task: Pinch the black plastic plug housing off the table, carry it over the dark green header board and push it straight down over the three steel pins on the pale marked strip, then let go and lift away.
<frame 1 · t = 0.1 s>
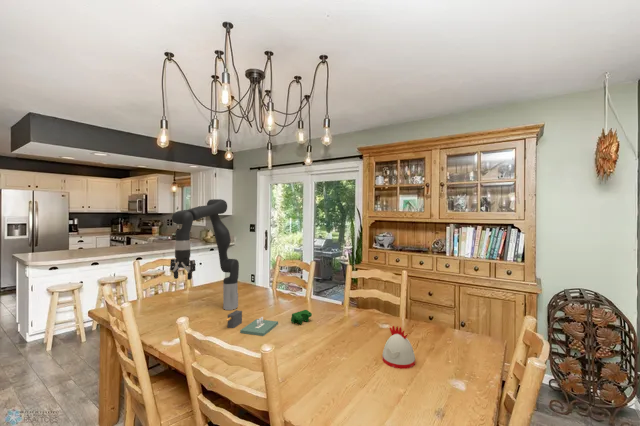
hand: (182, 279, 165), 29 cm above the table, tool pointing down, fingers open, 8 cm apart
header board: (259, 328, 173), on the table
kitchen timer: (398, 361, 136), on the table
plug housing: (234, 325, 177), on the table
green toy animal: (301, 322, 182), on the table
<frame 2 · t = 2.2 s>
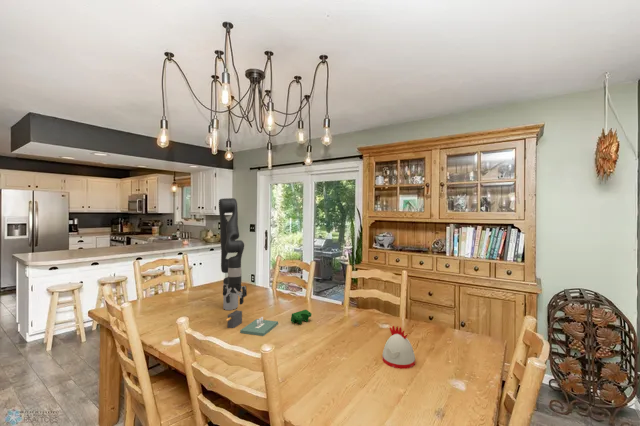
hand: (234, 303, 177), 13 cm above the table, tool pointing down, fingers open, 8 cm apart
nothing on the table moved.
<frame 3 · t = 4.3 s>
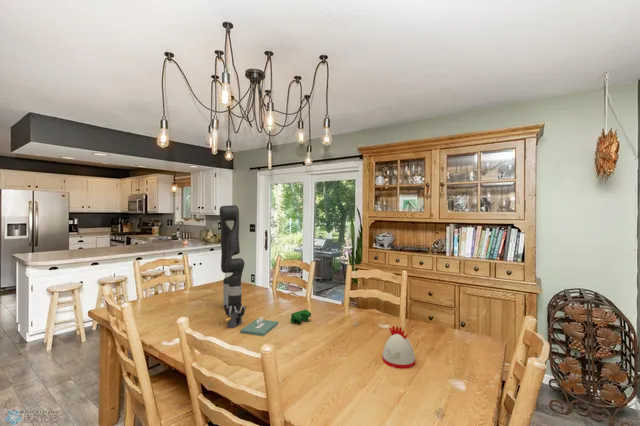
hand: (234, 323, 177), 1 cm above the table, tool pointing down, fingers closed on plug housing, 3 cm apart
plug housing: (234, 325, 177), on the table, touching gripper
everything else where it was.
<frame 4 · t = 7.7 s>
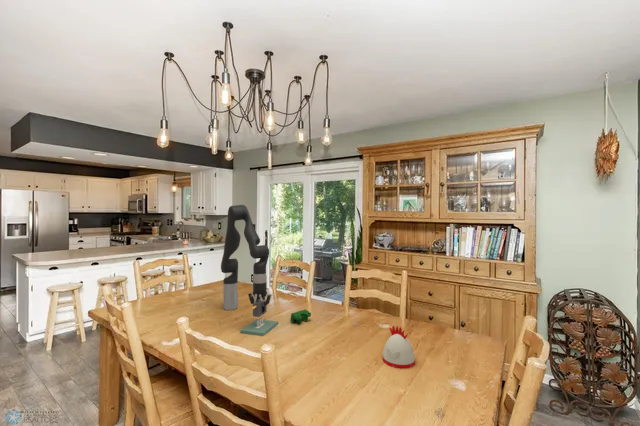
hand: (259, 311, 173), 9 cm above the table, tool pointing down, fingers closed on plug housing, 3 cm apart
plug housing: (259, 314, 172), point 8 cm above the table, touching gripper
everything else where it was.
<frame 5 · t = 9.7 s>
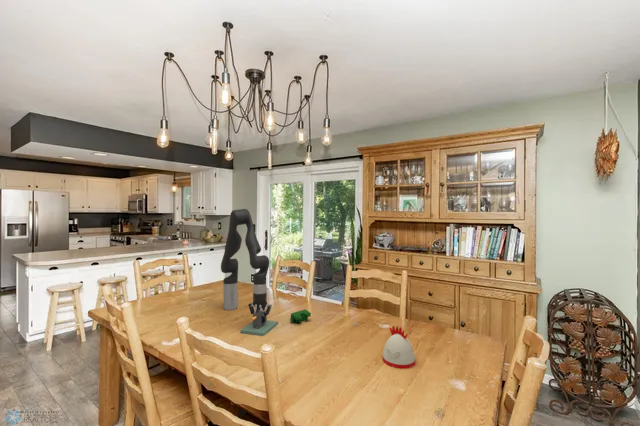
hand: (259, 322, 173), 4 cm above the table, tool pointing down, fingers closed on plug housing, 3 cm apart
plug housing: (259, 324, 173), point 2 cm above the table, touching gripper
everything else where it was.
when the fingers open (3 cm above the table, at t = 11.1 s): plug housing stays where it is, resting on header board.
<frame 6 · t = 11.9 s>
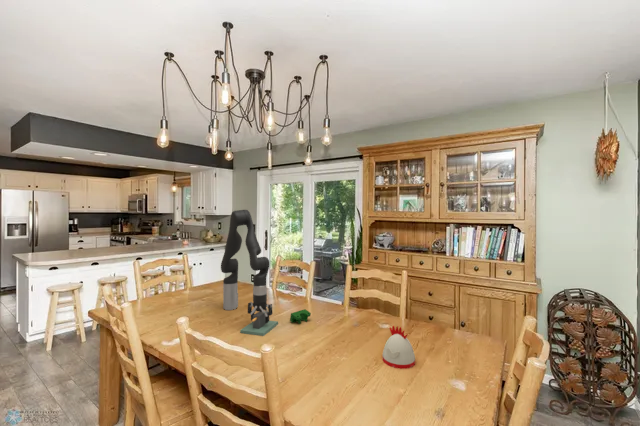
hand: (259, 321, 173), 4 cm above the table, tool pointing down, fingers open, 8 cm apart
plug housing: (259, 325, 173), point 1 cm above the table, touching header board
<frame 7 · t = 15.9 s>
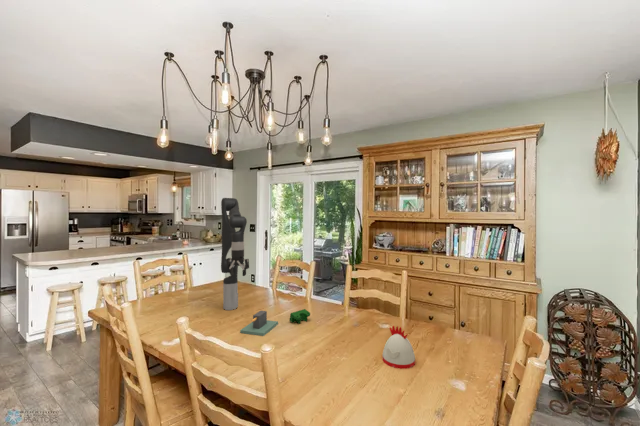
hand: (237, 275, 189), 26 cm above the table, tool pointing down, fingers open, 8 cm apart
at the end: plug housing 0.1 cm off-centre on the header board, point 1.5 cm above the header board's base; plug housing tilted 0°; the gripper is holding nothing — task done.
